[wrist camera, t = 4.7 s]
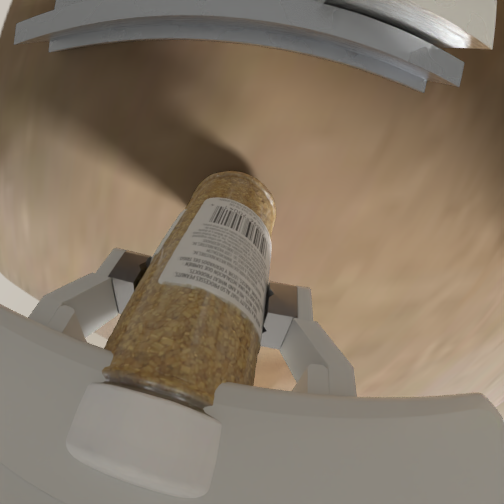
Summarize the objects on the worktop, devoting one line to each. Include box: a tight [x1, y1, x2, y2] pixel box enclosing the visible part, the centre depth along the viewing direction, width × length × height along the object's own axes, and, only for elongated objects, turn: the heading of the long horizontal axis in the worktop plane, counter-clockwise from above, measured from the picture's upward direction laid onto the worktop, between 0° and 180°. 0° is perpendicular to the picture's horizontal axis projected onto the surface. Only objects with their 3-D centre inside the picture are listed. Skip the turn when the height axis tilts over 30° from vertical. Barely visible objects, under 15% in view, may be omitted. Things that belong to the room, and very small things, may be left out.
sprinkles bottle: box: [66, 171, 276, 498], centre depth 10 cm, size 5×5×14 cm
